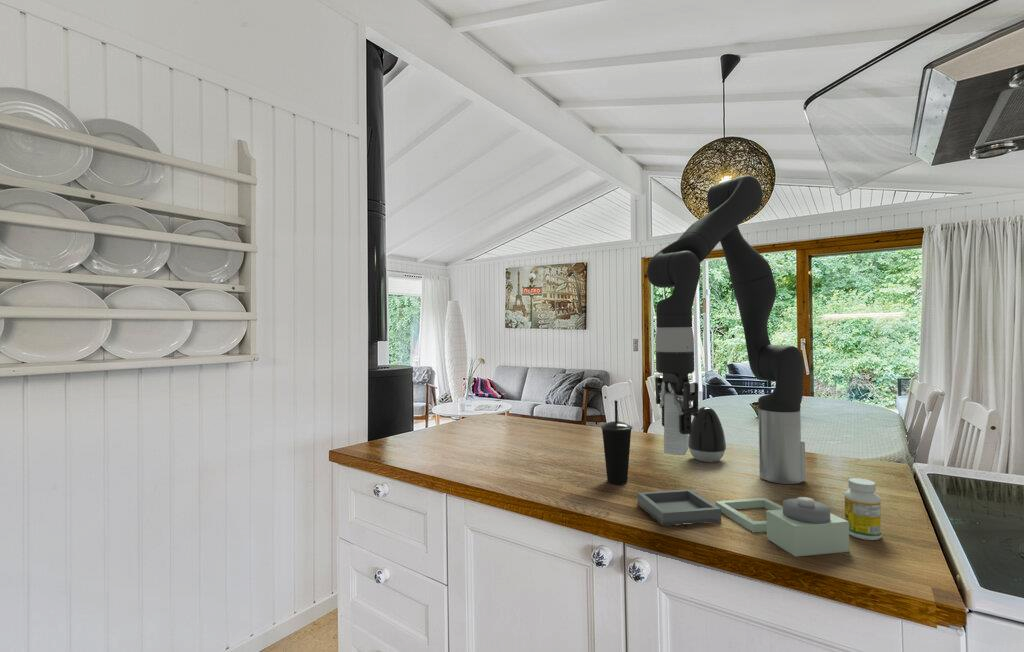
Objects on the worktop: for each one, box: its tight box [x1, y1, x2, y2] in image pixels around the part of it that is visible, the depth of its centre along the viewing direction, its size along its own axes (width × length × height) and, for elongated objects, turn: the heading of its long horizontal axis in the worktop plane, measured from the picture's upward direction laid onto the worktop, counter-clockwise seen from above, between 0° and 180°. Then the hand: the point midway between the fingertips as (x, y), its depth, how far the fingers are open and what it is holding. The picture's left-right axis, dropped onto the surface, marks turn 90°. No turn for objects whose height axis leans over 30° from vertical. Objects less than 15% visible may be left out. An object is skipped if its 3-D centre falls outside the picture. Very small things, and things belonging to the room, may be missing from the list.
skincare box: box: [663, 393, 689, 456], centre depth 100 cm, size 6×4×12 cm
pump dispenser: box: [688, 406, 727, 463], centre depth 140 cm, size 10×10×15 cm
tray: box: [637, 488, 722, 527], centre depth 100 cm, size 12×12×2 cm
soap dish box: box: [714, 496, 850, 558], centre depth 92 cm, size 11×22×8 cm, turn 9°
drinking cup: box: [600, 400, 633, 485], centre depth 121 cm, size 8×8×20 cm
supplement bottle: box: [843, 477, 882, 541], centre depth 88 cm, size 5×5×10 cm
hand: (676, 429), depth 100 cm, fingers closed on skincare box, 7 cm apart
